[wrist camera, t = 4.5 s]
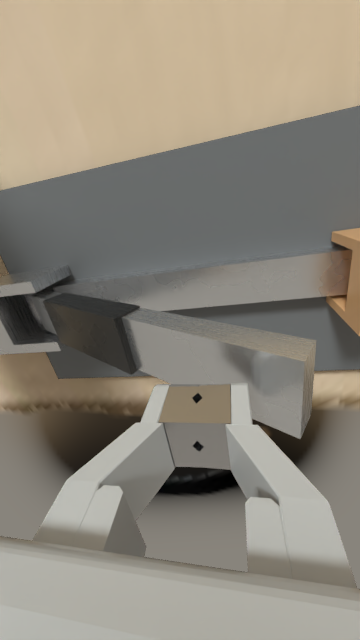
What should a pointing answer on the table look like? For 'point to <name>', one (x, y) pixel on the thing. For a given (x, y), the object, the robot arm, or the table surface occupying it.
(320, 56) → the table surface
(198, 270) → the grey long bar
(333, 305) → the light orange block
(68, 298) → the tongs arm
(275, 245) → the mat
